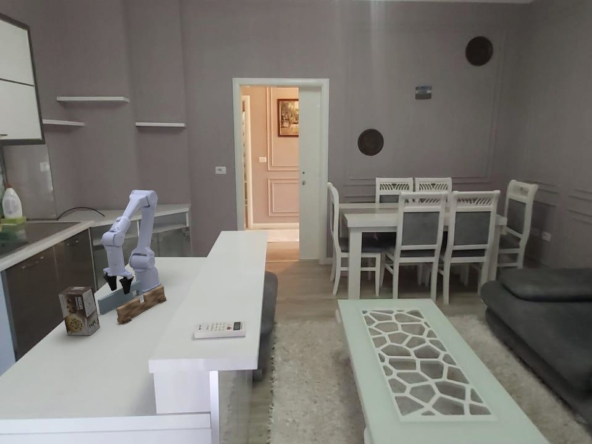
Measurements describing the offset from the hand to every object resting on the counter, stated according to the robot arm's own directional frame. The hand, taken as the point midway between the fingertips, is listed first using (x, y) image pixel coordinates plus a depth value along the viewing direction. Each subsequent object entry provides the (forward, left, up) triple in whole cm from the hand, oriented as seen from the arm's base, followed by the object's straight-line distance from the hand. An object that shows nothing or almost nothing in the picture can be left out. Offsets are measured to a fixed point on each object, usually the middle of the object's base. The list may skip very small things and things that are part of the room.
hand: (120, 291), depth 158 cm
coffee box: (+21, +5, -5) cm, 22 cm away
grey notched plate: (0, 0, -5) cm, 5 cm away
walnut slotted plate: (+1, +13, -5) cm, 14 cm away
